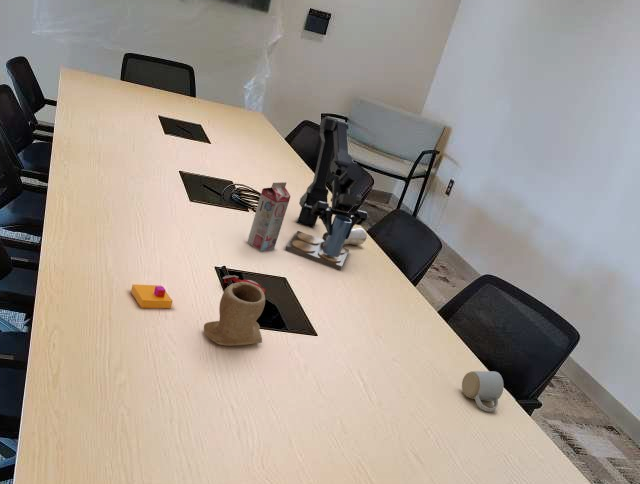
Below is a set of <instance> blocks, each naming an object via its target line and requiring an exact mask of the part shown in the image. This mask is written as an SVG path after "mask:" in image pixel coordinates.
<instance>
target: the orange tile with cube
mask: <svg viewBox="0 0 640 484" xmlns="http://www.w3.org/2000/svg"><path fill="white" fill-rule="evenodd" d="M130 293H131V295H132V296H133V298H134V299H135V301H136V302H137V304H138V305H139V307H140V308H142V309H144V308H145V309H171V308H172V305H173V299H172V298H171V297H170V295H169V293H168V292H167V291H166V289H165V287H164V286H162V285H157V284H132V285H131V290H130Z"/></svg>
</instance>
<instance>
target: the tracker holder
mask: <svg viewBox="0 0 640 484" xmlns="http://www.w3.org/2000/svg"><path fill="white" fill-rule="evenodd" d="M239 278H240V277H239V276H238V275H235V274H234V275H230V274H228V275H224V276H223V277H222V280H223V282H224V284H225V283H227V281H228V282H232V281H233V282H234V283H238V282H248V283H251V284H254V285H256V286H258V287H259V288H260V289H261V290H262V291H263V292H264V294H265V293H266V289H265V288H263V287H262V286H261V285H260V284H259V283H257V281H254V280H251V279H239ZM229 285H231V284H230V283H229ZM226 286H227V287H228V285H226Z"/></svg>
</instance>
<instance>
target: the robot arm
mask: <svg viewBox="0 0 640 484" xmlns="http://www.w3.org/2000/svg"><path fill="white" fill-rule="evenodd" d="M319 128H320V129H319V136H320V140H321V144H320V149H319V153H318V158H317V162H316V166H315V172H314V175H313V180H312V182H311V183H310V185H309V186H307V187H306V191H305V192H304V193H303V194H302V196H301V197H300V199H299V202H298V203H299V206H300V207H301V209H300V212H299V215H298V217H297V220H296V223H297V224H300V225H302V226H305V227H308V228H311V229H312V228H313V227H314V226H316V225H317V222H318V220H319V219H320V220H321V222H322V223H323V226H324V228H325V230H326V232H328V234H329V235H331V232H332V223H333V215H334V216H335V215H341V216H344V217H347V218H349V219H350V220H352V223H351V226H350V229H349V231H348V234H347V237H346V239H348V238H349V235H350V233H351V230H352V229H354V226H362V225H363V224H365V222H366V221H368V220H369V214H368V212H367V211H364V210H360V209H357V210H355V211H354V212H351V210H352V209H353V207H356V206H361V204H362V195H360V194H354V195H352V194H351V193H350V189H351V188H353V187H354V186H355V185H356V184H357V183H358V182H360V180H361V179H362V178H363V171H362V169H361V168H360V167H359V166H358V162H356V161H355V162H354V159H353V156H351V154H350V153H349V138H348V129H349V124H348V122H347V121H344V120H343V119H339V118H336V117H332V116H328V115H325V116H324V117H322V118H321V120H320V123H319ZM333 153H334V158H333V159H332V157H333ZM329 171H330V174H331V175H333V176H336V177H335V178H334V179H333V181H332V182H331V184H330V185H331V187H332V195H331V198H330V202H331V206H330V204H329V203H328V202H329V201H328V195H329V188H327V185H326V182H327V179H328V174H329ZM349 210H350V211H349Z"/></svg>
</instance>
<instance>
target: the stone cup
mask: <svg viewBox="0 0 640 484" xmlns="http://www.w3.org/2000/svg"><path fill="white" fill-rule="evenodd" d="M265 305H266V295H265V293H264V292H263V291H262V290H261V289H260V288H259V287H258V286H256V285H254V284H251V283H248V282H238V283H236V282H234V283H231V284H230V285H229V286H227V287H225V289H224V291H223V293H222V296H221V298H220V301H219V309H218V310H219V312H218V313H219V320H215V321H208V322H206V323H204V324H203V331H204V333H205V335H206V337H208V339H209V340H210V341H212V342H214V343H215V344H217V345H220V346H245V345H255V344H262V343H263V337H262V333H261V326H260V324H259V323H258V322H257V320H258V319H259V318H260V317H261V315H262V314H263V312H264V308H265Z"/></svg>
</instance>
